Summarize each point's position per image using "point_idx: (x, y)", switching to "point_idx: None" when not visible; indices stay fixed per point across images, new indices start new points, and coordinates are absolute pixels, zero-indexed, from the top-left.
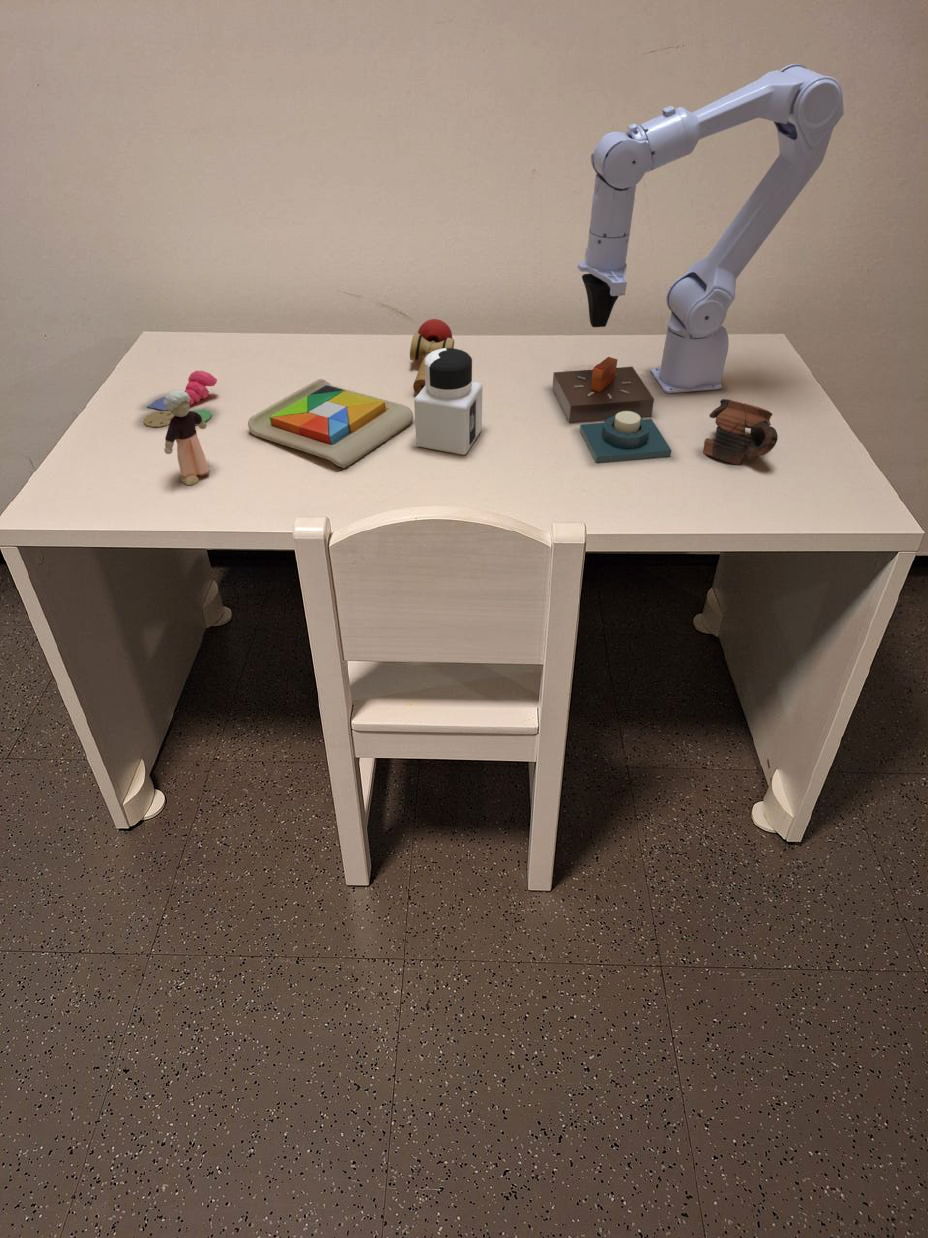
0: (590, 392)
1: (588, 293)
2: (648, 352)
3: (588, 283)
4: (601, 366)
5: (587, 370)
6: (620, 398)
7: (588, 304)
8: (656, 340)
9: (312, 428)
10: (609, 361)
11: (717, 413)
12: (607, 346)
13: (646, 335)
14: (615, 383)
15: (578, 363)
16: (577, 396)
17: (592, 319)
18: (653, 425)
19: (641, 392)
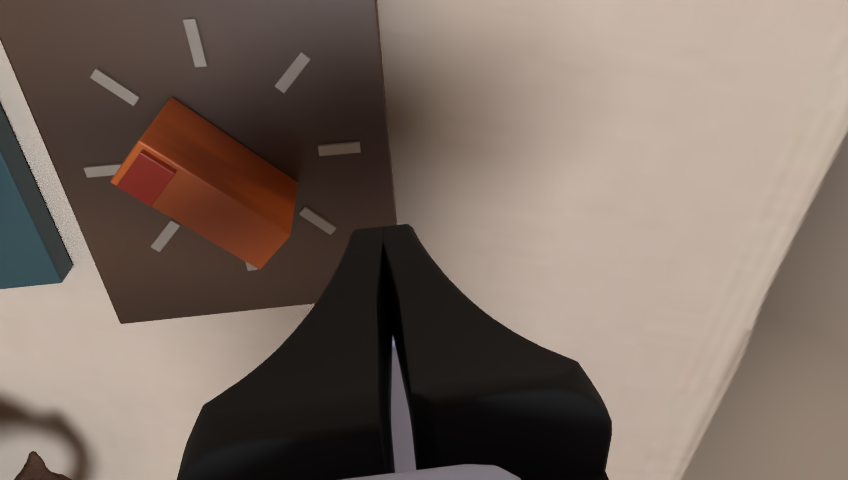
0: (140, 90)
1: (405, 337)
2: (615, 339)
3: (241, 441)
4: (143, 186)
5: (377, 114)
6: (103, 209)
7: (443, 276)
8: (688, 371)
9: None
10: (229, 232)
11: (19, 475)
12: (704, 226)
13: (733, 351)
14: None
15: (599, 94)
16: (84, 15)
17: (345, 252)
18: (5, 281)
19: (170, 291)
